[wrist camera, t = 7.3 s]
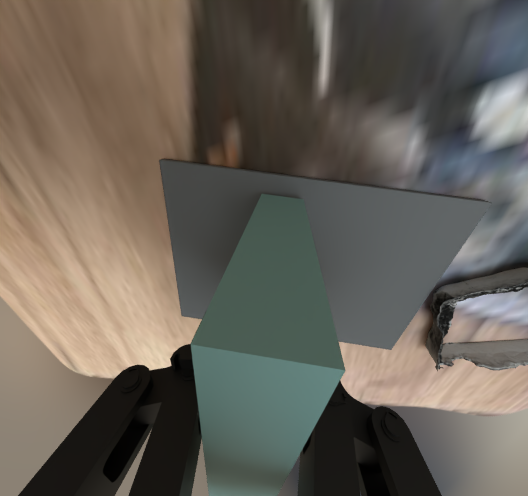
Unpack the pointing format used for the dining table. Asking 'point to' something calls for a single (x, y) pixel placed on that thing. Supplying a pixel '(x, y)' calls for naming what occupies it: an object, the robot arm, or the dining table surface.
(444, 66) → the dining table surface
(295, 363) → the teal flat box
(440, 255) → the rubber mat
